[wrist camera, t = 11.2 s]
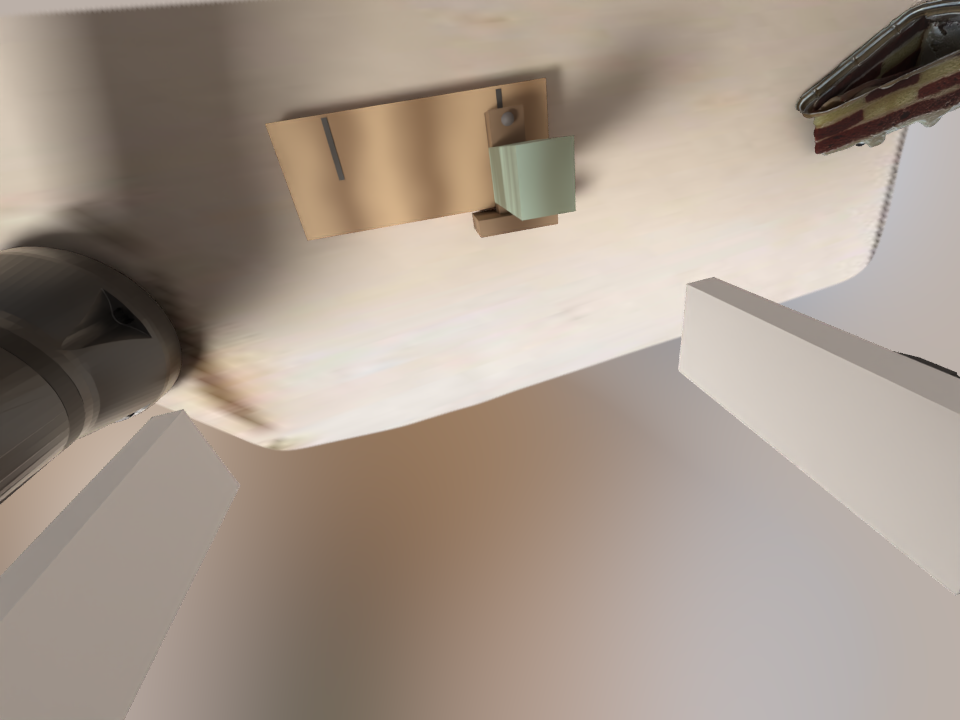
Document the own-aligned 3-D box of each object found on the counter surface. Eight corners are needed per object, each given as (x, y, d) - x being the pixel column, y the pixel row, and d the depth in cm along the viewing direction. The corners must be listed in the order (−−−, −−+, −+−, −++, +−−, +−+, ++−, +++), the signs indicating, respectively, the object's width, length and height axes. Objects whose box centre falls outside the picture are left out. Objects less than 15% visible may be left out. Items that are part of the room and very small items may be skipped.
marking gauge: (474, 227, 32) (500, 265, 22) (458, 118, 29) (479, 97, 18) (542, 215, 33) (601, 246, 22) (535, 105, 29) (603, 76, 18)
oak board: (314, 236, 32) (307, 240, 30) (274, 125, 28) (264, 123, 26) (544, 195, 33) (551, 197, 31) (538, 82, 29) (545, 77, 27)
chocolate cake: (792, 189, 35) (1005, 143, 28) (795, 118, 30) (1055, 40, 23) (790, 124, 39) (978, 68, 31) (793, 51, 34) (1016, -35, 26)
